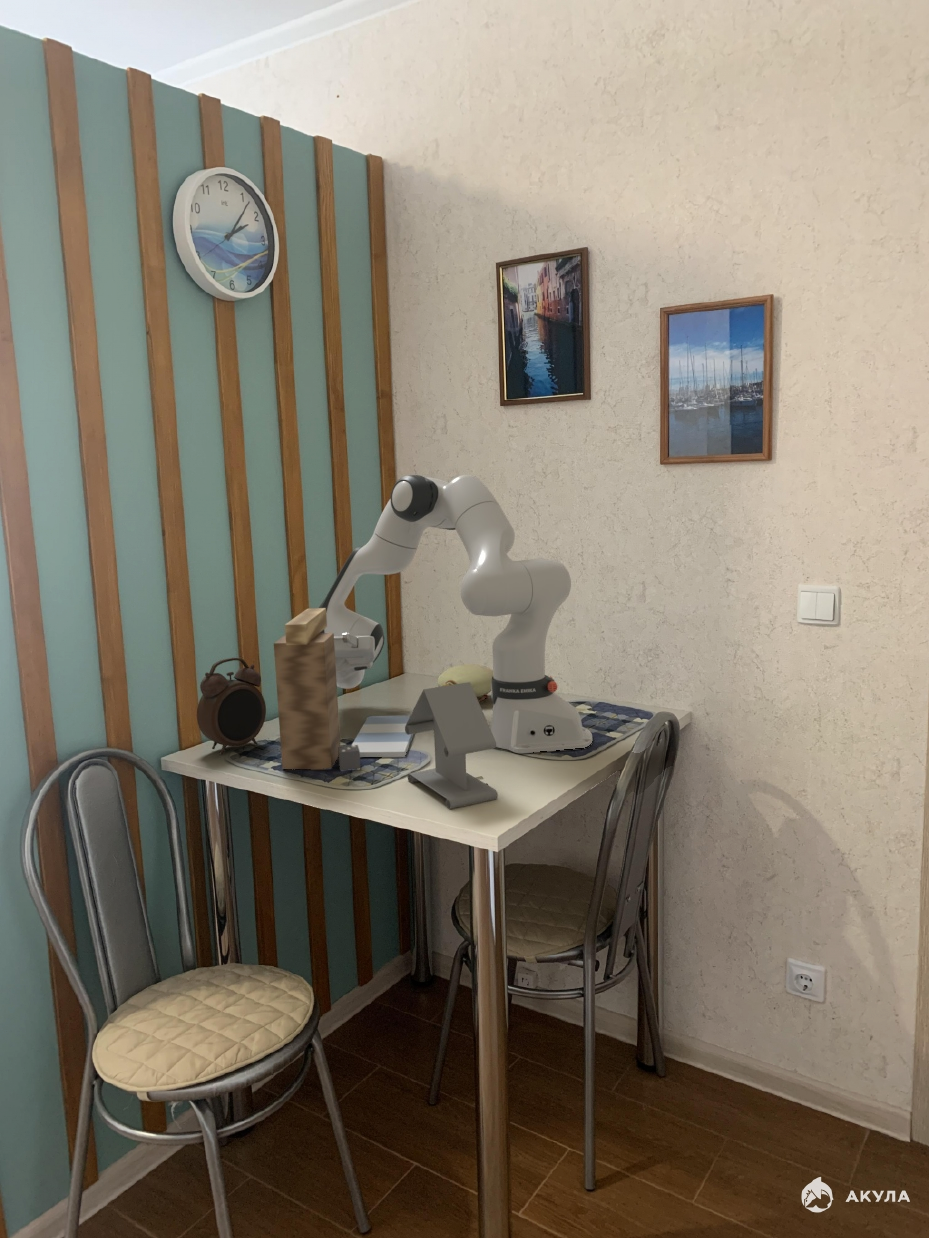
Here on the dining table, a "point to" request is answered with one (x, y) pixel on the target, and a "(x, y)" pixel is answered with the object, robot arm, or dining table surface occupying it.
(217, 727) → the alarm clock
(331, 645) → the walnut stand
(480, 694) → the flask
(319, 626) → the light wooden block
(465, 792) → the phone stand
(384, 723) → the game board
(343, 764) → the die
